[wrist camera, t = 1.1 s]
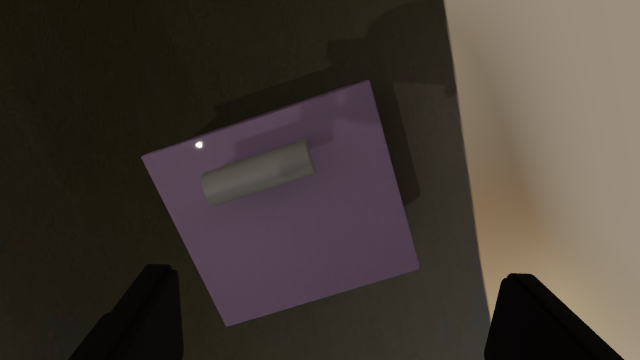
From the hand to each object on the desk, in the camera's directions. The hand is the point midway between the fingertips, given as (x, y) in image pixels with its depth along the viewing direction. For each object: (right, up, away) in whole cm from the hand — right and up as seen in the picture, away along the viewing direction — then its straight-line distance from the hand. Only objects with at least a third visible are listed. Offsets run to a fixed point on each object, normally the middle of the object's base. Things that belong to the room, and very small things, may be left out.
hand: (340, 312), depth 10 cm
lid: (-3, +1, +16) cm, 16 cm away
